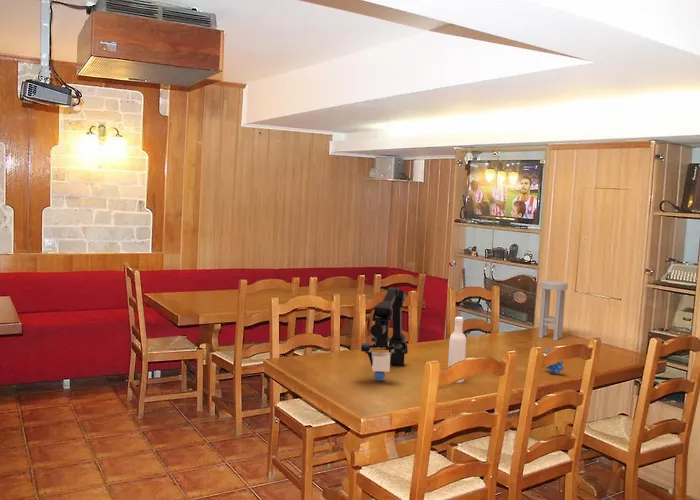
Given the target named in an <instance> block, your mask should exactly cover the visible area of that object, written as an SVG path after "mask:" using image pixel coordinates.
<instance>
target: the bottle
mask: <svg viewBox="0 0 700 500" xmlns="http://www.w3.org/2000/svg"><path fill="white" fill-rule="evenodd" d="M454 318H455V319H454V331H453V332H452V333H451V335H450V337H449V343H448V345H449V346H448V360H447V368H448V367H449V366H451V365H453V364H455V363H457V362H459V361H462V360H464V359H465V360H466V351H467V349H466V348H467V338H466V335H465V333H464V332H463V326H464V325H463V324H464V317H463V316H456V317H454ZM464 381H465V378H464V379H462V380H459V381H457V382H455V383H457V384H458V383H459V384H460V383H464Z"/></svg>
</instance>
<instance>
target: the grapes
mask: <svg viewBox="0 0 700 500" xmlns="http://www.w3.org/2000/svg"><path fill="white" fill-rule="evenodd" d="M551 350H553V349H552V348H550V349H548V350H545V351H544V352H543V354H544V353H548V352H550V351H551ZM563 364H564V360H563V361H561V362H558V363H556V364H553V365H550V366H548V367H546V368H545V369H548V372H549V373H551V374H556V375H559V374H560V372H562V371H563V370H564V366H563Z"/></svg>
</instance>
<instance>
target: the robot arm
mask: <svg viewBox="0 0 700 500" xmlns="http://www.w3.org/2000/svg"><path fill="white" fill-rule="evenodd" d="M406 297H407V295H406V293H405V291H403V290H402V289H399V287H398V288H397V287H392V286H391V287H390V286H389V287H388V288H387V291H386V294H385V296H384V298H383V300H382V301H381V302H378V303H377V304H376V306H375V307H374V309H373V314H372V319H371V321H372V322H374V324H373V325H372V326H370V329H369V331H370V334H371V342H361V344H360V351H361V352H364V353H365V354H367V356H368V359H369V362H370V366H371V367H372V350H377V351H378V350H381V351H388V353H389V355H390V367H391V366H393V367H395V366H397V367H404V366H405V355H406V354H409V353H408V352H409V351H408V350H409V349H408V344H407V342H406V336H405V335H404V334H403V327H402V325H403V324H402V323H403V321H402V320H403V318H402V317H403V314H402V310H403V309H402V307H403V305H404V304H405V302H406V299H407V298H406ZM390 321H392V336H391V337H390V339H389V334H390V333H389V329H390ZM370 343H374V344H370Z"/></svg>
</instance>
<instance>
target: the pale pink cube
mask: <svg viewBox="0 0 700 500" xmlns="http://www.w3.org/2000/svg"><path fill="white" fill-rule="evenodd" d="M371 352H372V351H371ZM390 367H391V366H390V352H377V351H376V352H375V351H374V352H372V366H371V370H372V372H376V371H383V372H384V373H385V372H387V373H389V372H390V370H391V369H390Z"/></svg>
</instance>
